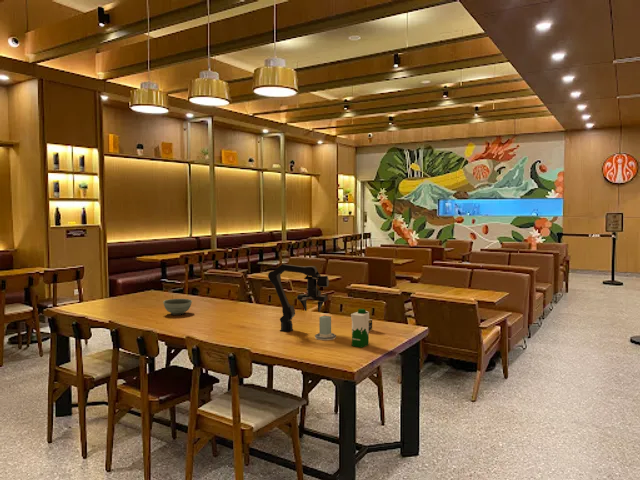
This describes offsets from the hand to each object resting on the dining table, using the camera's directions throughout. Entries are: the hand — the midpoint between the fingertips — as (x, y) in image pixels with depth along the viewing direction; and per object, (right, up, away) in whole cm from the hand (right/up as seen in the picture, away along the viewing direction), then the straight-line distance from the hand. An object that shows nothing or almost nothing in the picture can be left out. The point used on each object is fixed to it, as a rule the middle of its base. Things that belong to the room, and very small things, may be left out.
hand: (312, 311), depth 303 cm
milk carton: (+27, -15, -31) cm, 44 cm away
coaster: (+8, -14, -13) cm, 20 cm away
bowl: (-101, -11, +60) cm, 118 cm away
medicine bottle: (+33, -13, +4) cm, 35 cm away
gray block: (+8, -13, -13) cm, 20 cm away
